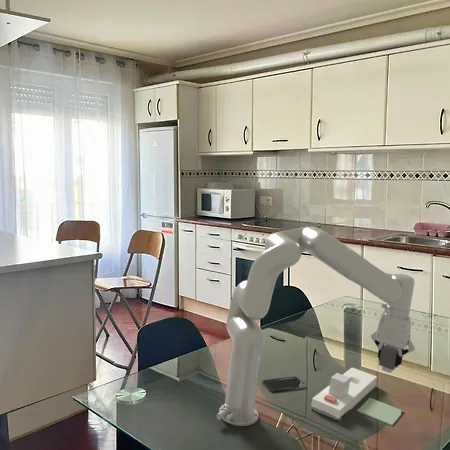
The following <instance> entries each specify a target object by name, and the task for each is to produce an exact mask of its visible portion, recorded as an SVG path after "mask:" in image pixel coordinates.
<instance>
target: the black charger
mask: <svg viewBox="0 0 450 450" xmlns="http://www.w3.org/2000/svg"><path fill="white" fill-rule="evenodd" d="M397 355H398V348H396V347H393V346H390V345H387V344H385V345H384V347H382V348H381V354H380V360H379V361H378V366H381V368H382V369H381V370H382V371H383V372H386V373H389V374H391V373H392V372H394V371H395V370H396V369H397V367H395V363H396V357H397Z"/></svg>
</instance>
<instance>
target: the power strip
mask: <svg viewBox="0 0 450 450" xmlns="http://www.w3.org/2000/svg"><path fill="white" fill-rule="evenodd" d="M342 375H344V376H347V377H350V385H349V391H348V394H347V395H346V396H345V397H344V398H343V399H341V398H338V397H336V396H333V395H331V394H329V388H330V384H329V385H328V386H326V387H325V388H324V389H322V390H320V392H318V393H317V394H316V395H314V396H313V397H312V398H311V405H310V407H311V406H312V407H315V408H317V409H319V410H322V411H325V412H327V413H329V414H331V415H333V416H335V417H336V418H338V419H339V418H340V417H341V416H342V415H343V414H344V413H345V412H346V411H348V410H350V409H351V410H352V409H353V408H355V406H356V405H358V403H360V402H361V401H362V399H364V398H365V397H366V396H367V395H368V394H369V393H370V392H371V391H373V390H374V388H375V387H376V384H377V378H378V376H377V375H373V374H371V373H368V372H366V371H363V370H361V369H358V368H355V367H350V369H348V370H347V371H345V372H344V373H343V374H342ZM351 410H350V411H351Z"/></svg>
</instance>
